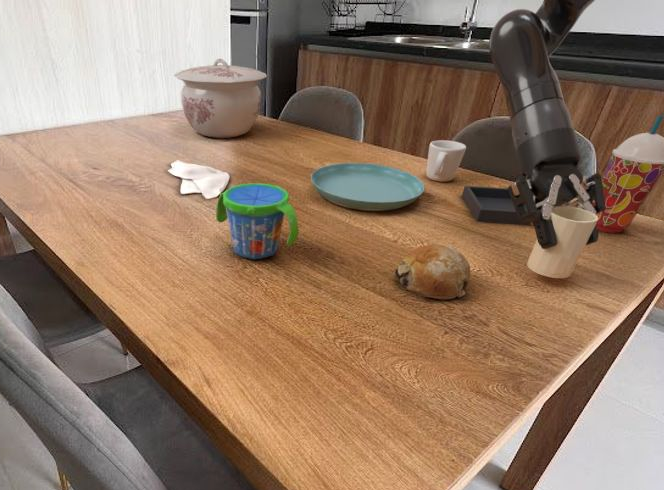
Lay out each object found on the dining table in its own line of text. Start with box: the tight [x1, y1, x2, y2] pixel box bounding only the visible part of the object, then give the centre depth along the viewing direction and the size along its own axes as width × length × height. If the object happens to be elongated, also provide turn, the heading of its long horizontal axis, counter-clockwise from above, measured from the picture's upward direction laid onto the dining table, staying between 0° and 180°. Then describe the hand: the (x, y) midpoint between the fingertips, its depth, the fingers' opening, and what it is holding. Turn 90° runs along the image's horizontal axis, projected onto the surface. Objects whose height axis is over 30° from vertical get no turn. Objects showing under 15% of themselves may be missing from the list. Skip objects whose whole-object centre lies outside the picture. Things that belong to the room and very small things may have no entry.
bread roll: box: [394, 244, 471, 301], centre depth 67 cm, size 10×10×8 cm
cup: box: [425, 139, 467, 183], centre depth 105 cm, size 11×8×8 cm
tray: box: [461, 185, 561, 227], centre depth 92 cm, size 18×14×2 cm
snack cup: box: [215, 182, 299, 261], centre depth 74 cm, size 16×10×10 cm
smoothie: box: [593, 115, 664, 234], centre depth 81 cm, size 8×8×20 cm
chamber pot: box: [173, 58, 268, 139], centre depth 137 cm, size 28×28×21 cm
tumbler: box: [526, 206, 598, 279], centre depth 67 cm, size 6×6×9 cm
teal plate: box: [310, 162, 425, 212], centre depth 99 cm, size 24×24×3 cm
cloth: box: [167, 159, 230, 200], centre depth 106 cm, size 26×14×2 cm, turn 17°
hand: (570, 245), depth 65 cm, fingers closed on tumbler, 6 cm apart
